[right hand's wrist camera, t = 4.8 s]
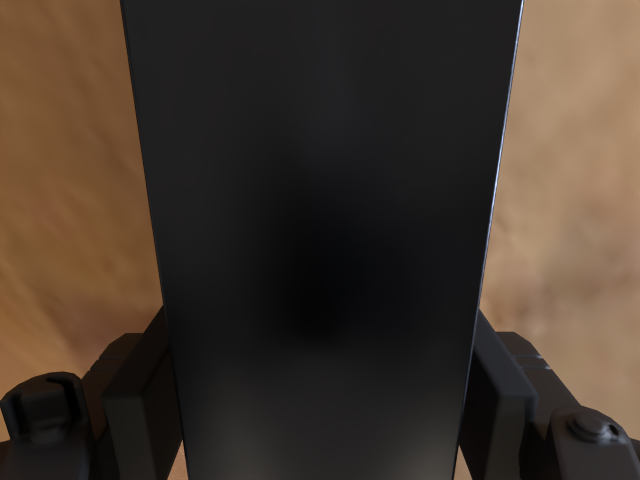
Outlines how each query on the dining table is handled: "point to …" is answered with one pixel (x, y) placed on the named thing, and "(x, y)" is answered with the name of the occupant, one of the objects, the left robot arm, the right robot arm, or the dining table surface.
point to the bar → (321, 223)
